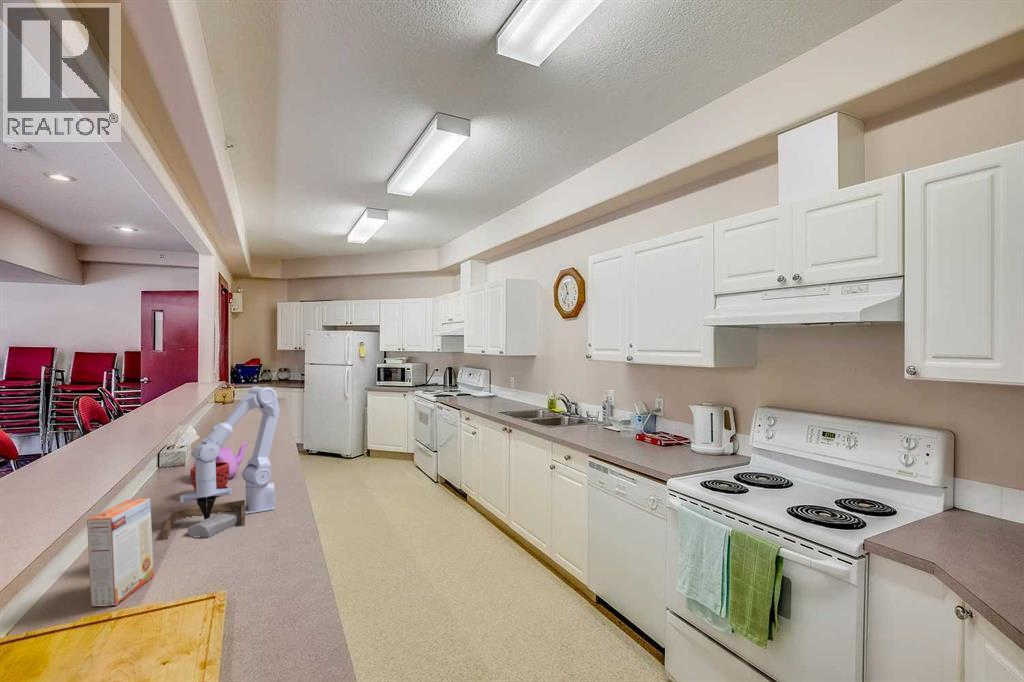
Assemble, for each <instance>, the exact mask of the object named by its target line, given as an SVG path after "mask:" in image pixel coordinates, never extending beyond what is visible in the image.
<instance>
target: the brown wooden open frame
mask: <svg viewBox="0 0 1024 682" xmlns="http://www.w3.org/2000/svg"><path fill="white" fill-rule="evenodd" d="M245 506H246V499H241V500H233V501H228V502H222V503H217V504H216V503H214V504H213V507H212V509H211V513H210V515H213V514H212V513H216V514H219V513H218V512H222V513H226V512H225V511H228V512H230V511H229V510H235V509H241V510H240V511H241V512H240V513H241V514H240V526H241V525H244V526H245V525H246V522H245V521H246V514H245ZM235 511H236V510H235ZM199 515H203V513H202V511H201V509H200V507H199V506H197V507H195V506H194V507H189V508H188V507H187V508H182V509H177V510H171V511H170V514H169V516H168V519H167V520H166V523H165V525H164V528H163V531H162V533H163V535H162V537H163V540H164V539H165V540H168V539H169V537H168V536H170V534H171V532H170V531H172V529H173V527H172V526H174V523H175V522H174V521H177V520H176V519H179V520H182V519H181V518H185V519H187V518H186V517H191V518H193V517H192V516H198V517H200V516H199Z"/></svg>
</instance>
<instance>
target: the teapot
mask: <svg viewBox="0 0 1024 682" xmlns="http://www.w3.org/2000/svg"><path fill="white" fill-rule="evenodd" d="M250 443H251V441H248V442H245V443H242V444H241V445H240V447H239V448H238V449H239V451H238V454H237V455H236V456H235V454H234V453H233V450H232V449H231V448H230V447H228V446H222V447H221V448H220V449H219V455H218V457H216V458H215V460H216V462H228V463H229V478H230V479H231V478H234V477H235V476H236V474H237V472H238V467H239V465H241V463H242V462H243V460H244V456H245V449H246V447H247V446H248V445H249V444H250ZM194 466H196V459H195V458H194V462H193V466H192V467H194ZM195 480H196V477H195Z"/></svg>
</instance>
